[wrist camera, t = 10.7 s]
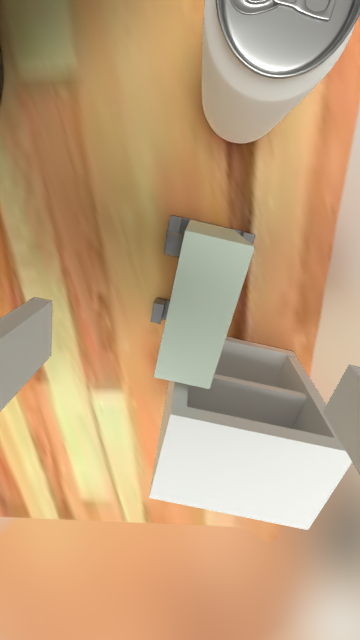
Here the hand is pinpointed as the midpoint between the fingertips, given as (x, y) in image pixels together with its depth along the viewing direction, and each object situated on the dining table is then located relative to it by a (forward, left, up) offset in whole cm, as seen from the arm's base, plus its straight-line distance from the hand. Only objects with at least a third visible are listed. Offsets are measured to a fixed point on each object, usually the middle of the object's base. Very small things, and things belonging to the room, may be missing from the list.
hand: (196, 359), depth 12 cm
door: (0, 0, -15) cm, 15 cm away
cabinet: (+5, +4, -16) cm, 17 cm away
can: (-14, 0, -16) cm, 21 cm away
